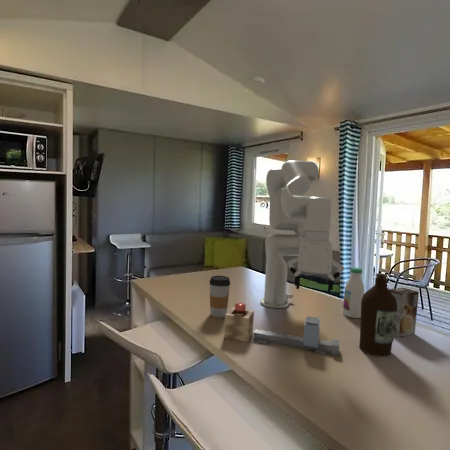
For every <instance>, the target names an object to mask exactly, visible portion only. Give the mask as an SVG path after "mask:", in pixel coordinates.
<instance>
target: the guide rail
mask: <svg viewBox="0 0 450 450" xmlns="http://www.w3.org/2000/svg"><path fill="white" fill-rule="evenodd" d="M252 339H253V341H258V342H257V343H259V344H264V345H268V344H269V343H271V344H274V345H281V346H286V347H291V348H292V347H293V348H298V349H303V350H309V351H314V353H315V354H319V355H326V354H330V355H331V356H334V357H339V352H340V340H339V339H338V338H337V339H335V338H332V340H331V341H329V340H328V341H327V340H321V339H319V340H318V348H317V347H311V346H305V345H303V336H297V335H293V334H286V333H280V332H275V331H268V330H264V329H263V330H262V329H257V328H256V329H255V330H253V338H252Z"/></svg>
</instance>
